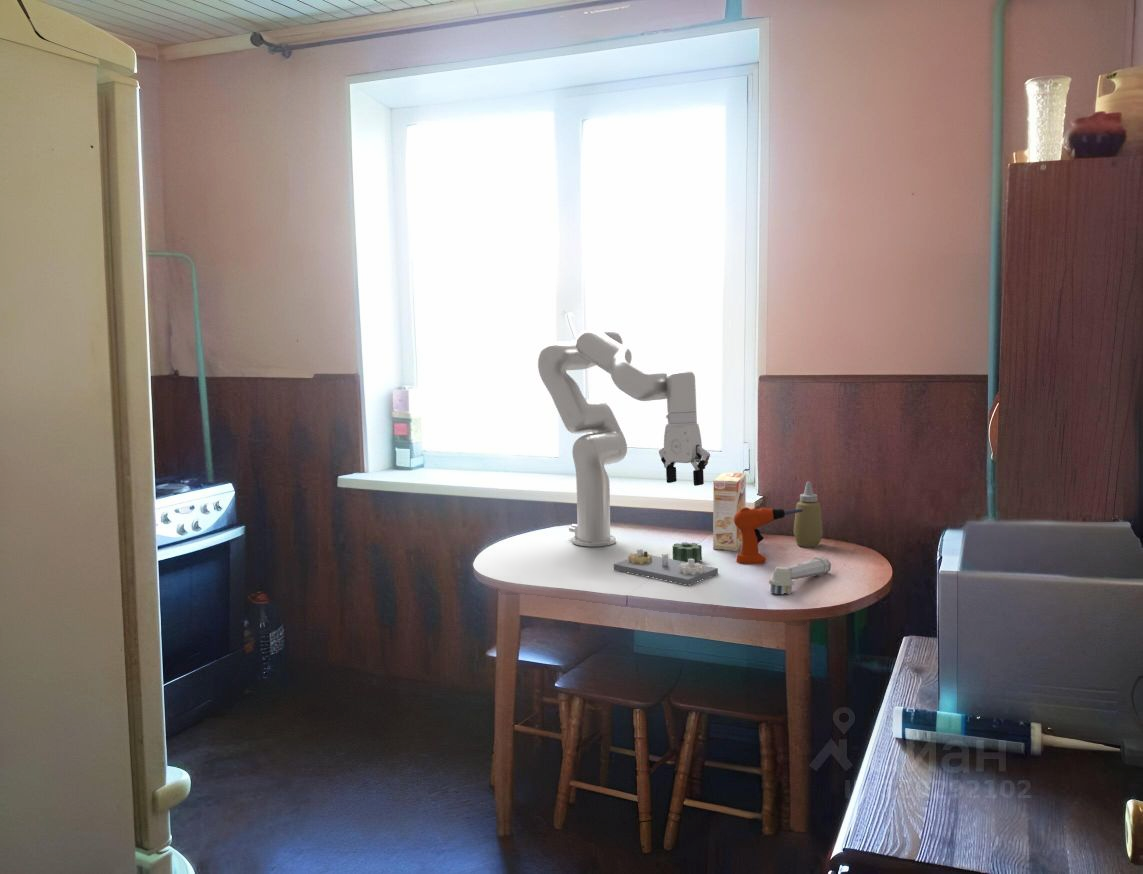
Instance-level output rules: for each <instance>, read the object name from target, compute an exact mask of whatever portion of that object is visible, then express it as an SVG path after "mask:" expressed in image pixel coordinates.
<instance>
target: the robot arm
mask: <svg viewBox="0 0 1143 874" xmlns="http://www.w3.org/2000/svg"><path fill="white" fill-rule="evenodd" d="M623 344H624V343H623V339H622V337H621V335H620V334H619V333H618V332H617V331H616V330H614V329H613V328H589V329H586V330H583V331H581V332H580V333H579V334H578V336H577V337H576V339H575V340H571V341H555V342H554V341H553V342H551V343H548V344H547V345H545V346H544V347H543V348H542V349H541V351H540V352H539V355H538V360H537V368H538V374H539V376H540V379H541V381H542V383H543V385H544V386H545V387H546V390H547V391H548V392H549V395H550V396H551V399H552V401H553V403H554V405H555V408H556V409H557V412H558V415H559V417H560V419H561V421H562V423H563V425H564V427H565V428H566V430H567V431H568V432H570V433H572V434H577V435H578V434H584V435H582V436H581V435H580V436H579V437H578V438H577V439H576V440H575V442H574V443H573V445H572V453H571V454H572V459H573V463H574V468H575V480H576V513H577V515H576V519H577V521H576V523H577V524H576V523H572V524H571V526H570V527H569V528H568V531H569V533H570V532H571V533H574V536H573V537H572V539H571V540H572V544H574V545H577V546H581V547H589V548H591V547H596V548H598V547H606V546H611V545H612V544H616V542H617V541H616V540H617V539H616V536H614V535H613V534H611V495H610V494H611V493H610V492H611V491H610V477H609V475H608V472H607V470H606V468H605V466H607V465H611V464H616V463H618V462H621V461H623V460H624V459H625V457H626V456H627V453H628V444H627V441H626V438H625V435H624V433H623V431H622V430H621V427H620V425H619V423H618V420H617V419H616V417H615V414H614V412H613V410H612V409H611V407H610V406H609V405H608V403H606V402H605V401H603V400H601V399H597V398H595V399H594V398H593V399H586V398H585V397H584V394H583V393H582V391H581V389H580V386H579V384H578V383H577V382H576V381H575V379H573V377H571V376H570V374H568V373H567V371H577V370H578V371H579V370H586V369H590V368H593V367H596V366H597V367H598V368H601V369H602V370H603V371H605V372H607V373H608V374H609V375H610V378H611V380H612V381H613V384H614V385H615V386H616V388H618V389H619V390H620V391H621V392H622V393H625V394H626V395H628V396H629V397H630V398H632V399H635V400H637V401H641V402H648V401H649V402H650V401H658V400H661V401H662V400H666V404H667V405H666V407H667V414H666V415H665V418H666V419H667V423H666V424H665V427H664V428H665V429H664V435H663V437H664V438H663V448H661V449H660V450H658V453H659V457H660V458H661V459H660V460H661V462H662V464H663V467H664V469H665V474H666V475H665V476H666V477H665V478H666V484H672V483H676V482H677V480H678V479H677V467H676V466H675V465H676V463H677V464H678V463H681V464H682V463H683V464H691V466H692V467H693V468H694V470H693V472H692V473H693V474H692V475H693V476H692V477H693V485H694V487H696V486H703V485H704V483H705V480H704V479H705V477H704V470H705V469H706V466H707V465H708V464H709V460H710V457H711V454H710V452H709V451H707V450H706V449H705V448H703V443H702V436H701V430H700V426H699V423H698V415H697V413H698V412H697V392H696V391H697V390H696V375H695V374H694V372H693V371H690V370H689V371H688V370H687V371H684V370H683V371H681V370H680V371H664V370H663V371H661V370H660V371H659V370H658V371H647V372H643V371H641V370H639V369H637V368H636V367H634V366H633V365H631V362H632V352H631V351H630V349H629V348H627V347H626V346H625V345H623ZM585 433H587V434H585Z"/></svg>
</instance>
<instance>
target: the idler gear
mask: <svg viewBox="0 0 1143 874" xmlns="http://www.w3.org/2000/svg"><path fill="white" fill-rule="evenodd" d="M702 548H703V547H702V544H698V543H695V542H692V543H691V542H690V543H688V542H680V543H678V542H677V543H674V544H673V545H672V559H673V560H678V561H683V562H688V559H695V563H699V562H700V563H701V561H700V560H702V559H703V558H702V555H703V554H702V552H703V551H702Z"/></svg>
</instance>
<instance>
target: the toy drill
mask: <svg viewBox="0 0 1143 874" xmlns="http://www.w3.org/2000/svg"><path fill="white" fill-rule="evenodd" d="M798 512H803V509H796V508H795V509H789V510H787V509H786V510H785V509H784V508H783V509H782V508H777V509H776V508H773V509H772V508H766V507H760V508H756V507H753V508H749V507H746V506H745V508H742V509H741V510H740V511H739V512H738V513H736V515H735V516H734V523H735V525H736V526H737V527H738V528H739V529H740V530H741V533H742V544H741V547H740V548H741V549H740V552H739V553H737V554H736V562H737V563H738V564H742V563H743V564H744V565H758V564H761V563H762V564H765V563H766V561H767V557H766V556H765V555H764V554H762V553H760V552H759V543H761V542H762V541H763V540H764V536H762V534H761V532H760V530H759V529H758V528H761V527H762V526H764V525H767V524H769V523H771V522H774V521H775V520H778V519H784V518H785V516H788V515H791V514H795V513H798ZM743 564H742V565H743ZM762 564H761V565H762Z"/></svg>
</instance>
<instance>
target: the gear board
mask: <svg viewBox="0 0 1143 874" xmlns="http://www.w3.org/2000/svg"><path fill="white" fill-rule="evenodd" d="M627 557H628V559H624V560H622V561H618V562H616V563H615V562H614V563H613V570H614V571H617V570H619V572H622V571H623V573H627V572H629V573H628V574H631V573H633V574H632V575H636V574H638V575H637V576H641V575H644V576H643V577H645V576H649V577H648V578H650V577H654V578H653V579H655V578H658V579H657V580H659V579H662V580H661V581H664V580H667V581H666V582H669V581H672V582H671V583H673V582H676V583H675V584H678V583H681V584H680V585H683V584H686V585H685V586H687V585H688V586H690V585H689V584H691V585H693V584H692V583H694V584H696V583H698V582H697V581H699V582H700V580H701V581H703V580H702V579H704V580H706V579H708V577H709V578H711V577H710V576H712V577H714V576H716V574H717V575H719V567H718V568H717V567H715V566H714V567H713V566H708V565H704V564H701V562H700V563H695V559H688V562H683V561H678V560H673V558H669V554H668V553H662V554H661V556H656V555H652V554H649V553H648V551H644V549H642V548H638V549H636V552H635V553H633V552H632V553H629V555H628V556H627ZM713 575H714V576H713ZM705 578H706V579H705ZM695 582H696V583H695Z"/></svg>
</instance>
